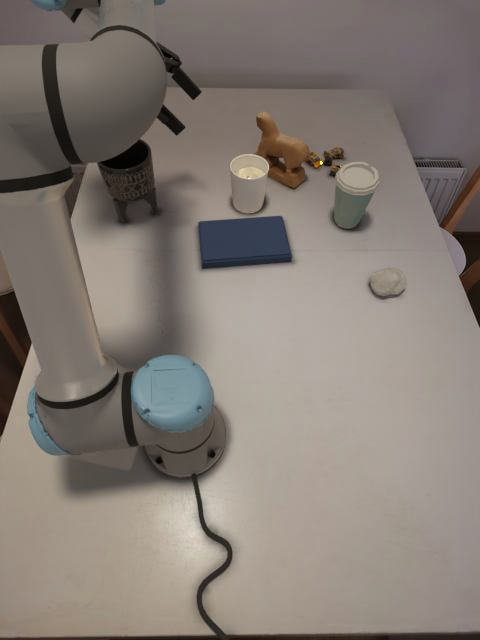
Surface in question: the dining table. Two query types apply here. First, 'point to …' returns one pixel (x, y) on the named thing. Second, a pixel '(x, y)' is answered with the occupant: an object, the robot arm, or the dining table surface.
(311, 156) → the toy set
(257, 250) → the blue book
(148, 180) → the planter
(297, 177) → the sculpture
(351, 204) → the disposable coffee cup
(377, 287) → the pebble
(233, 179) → the candle holder
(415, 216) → the dining table surface
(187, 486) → the dining table surface
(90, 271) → the dining table surface
